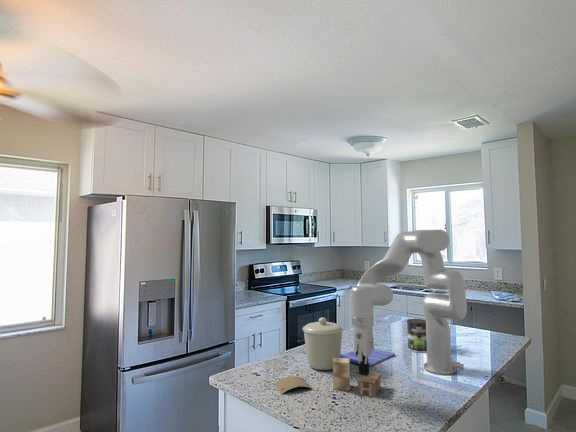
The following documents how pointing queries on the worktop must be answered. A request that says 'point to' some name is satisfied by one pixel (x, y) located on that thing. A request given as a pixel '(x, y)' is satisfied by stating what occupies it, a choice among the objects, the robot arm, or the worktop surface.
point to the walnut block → (369, 384)
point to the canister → (322, 343)
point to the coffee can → (417, 335)
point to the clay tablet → (290, 383)
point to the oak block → (341, 374)
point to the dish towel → (374, 358)
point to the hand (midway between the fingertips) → (364, 374)
